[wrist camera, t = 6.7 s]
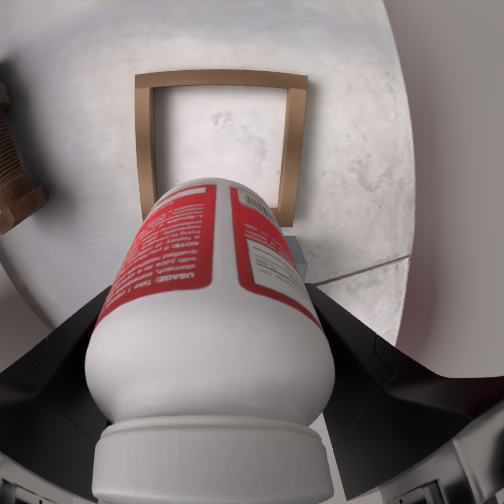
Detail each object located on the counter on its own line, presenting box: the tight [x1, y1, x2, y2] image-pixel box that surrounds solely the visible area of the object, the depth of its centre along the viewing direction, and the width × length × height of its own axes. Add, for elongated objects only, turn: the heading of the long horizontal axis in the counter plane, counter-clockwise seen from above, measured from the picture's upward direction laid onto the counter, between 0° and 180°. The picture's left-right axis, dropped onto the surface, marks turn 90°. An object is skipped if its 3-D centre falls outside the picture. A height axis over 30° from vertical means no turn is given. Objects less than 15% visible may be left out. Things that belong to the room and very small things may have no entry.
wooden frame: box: [135, 69, 308, 227], centre depth 18 cm, size 11×11×1 cm
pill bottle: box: [85, 178, 335, 504], centre depth 8 cm, size 6×6×11 cm
